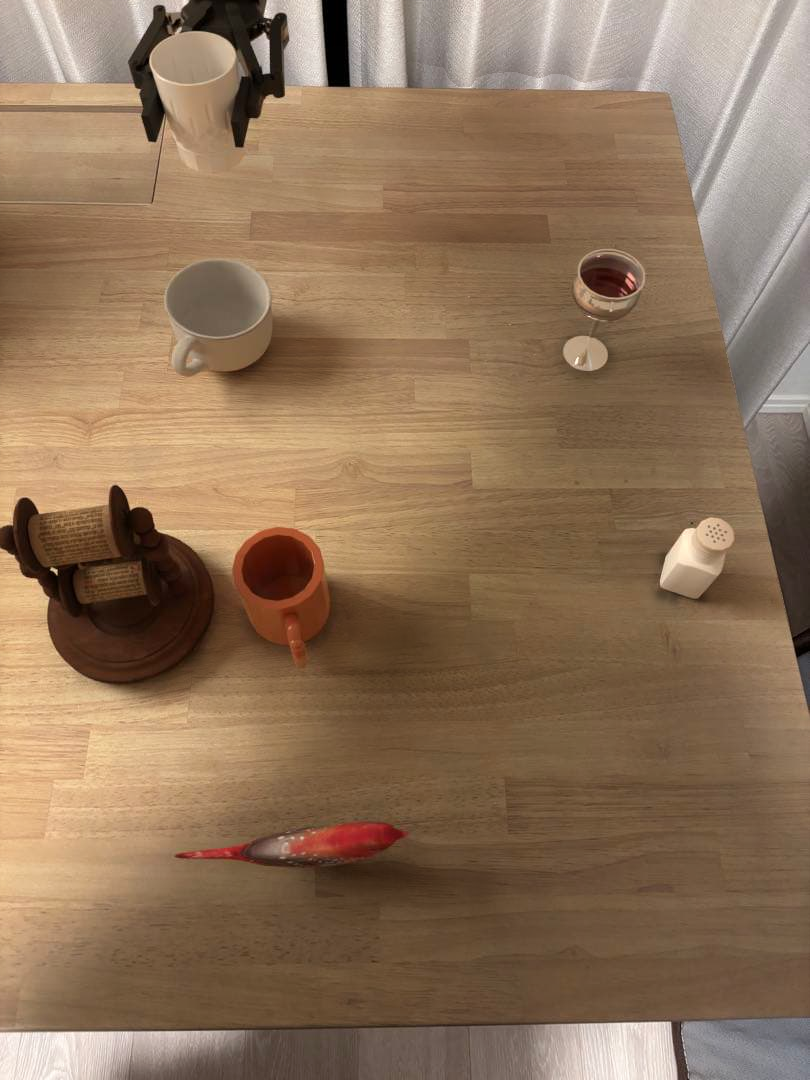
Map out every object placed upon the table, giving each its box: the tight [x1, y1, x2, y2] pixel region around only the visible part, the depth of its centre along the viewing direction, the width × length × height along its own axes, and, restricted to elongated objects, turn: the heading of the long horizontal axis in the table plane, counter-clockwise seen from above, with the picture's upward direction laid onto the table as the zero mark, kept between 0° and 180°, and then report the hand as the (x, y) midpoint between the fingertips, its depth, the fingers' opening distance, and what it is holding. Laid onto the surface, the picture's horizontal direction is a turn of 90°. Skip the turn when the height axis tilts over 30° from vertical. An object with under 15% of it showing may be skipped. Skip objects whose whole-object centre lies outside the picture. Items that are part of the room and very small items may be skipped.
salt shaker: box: [659, 517, 735, 600], centre depth 75 cm, size 4×4×10 cm
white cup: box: [149, 31, 247, 175], centre depth 80 cm, size 8×8×10 cm
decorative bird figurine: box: [173, 820, 410, 869], centre depth 63 cm, size 3×18×10 cm, turn 95°
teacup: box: [163, 257, 273, 378], centre depth 87 cm, size 14×11×8 cm
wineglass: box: [562, 248, 646, 372], centre depth 86 cm, size 7×7×12 cm
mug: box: [231, 526, 331, 669], centre depth 73 cm, size 11×8×9 cm
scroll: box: [0, 484, 216, 686], centre depth 68 cm, size 15×15×20 cm
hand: (192, 131), depth 77 cm, fingers closed on white cup, 8 cm apart
